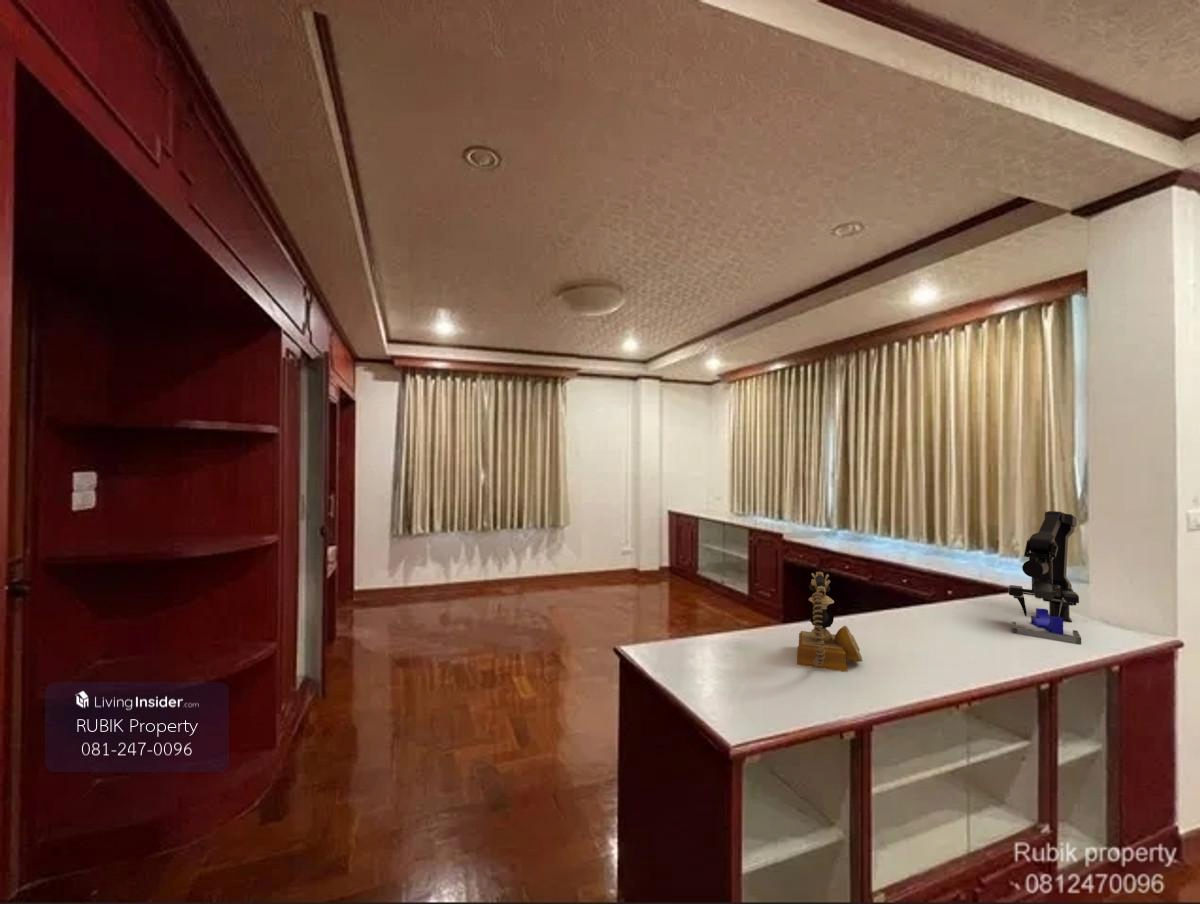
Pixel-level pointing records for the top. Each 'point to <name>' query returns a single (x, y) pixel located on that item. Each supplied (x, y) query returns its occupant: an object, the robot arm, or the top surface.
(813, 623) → the jack-in-the-box toy
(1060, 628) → the cable clip
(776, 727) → the top surface
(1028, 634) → the rail bay
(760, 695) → the top surface
